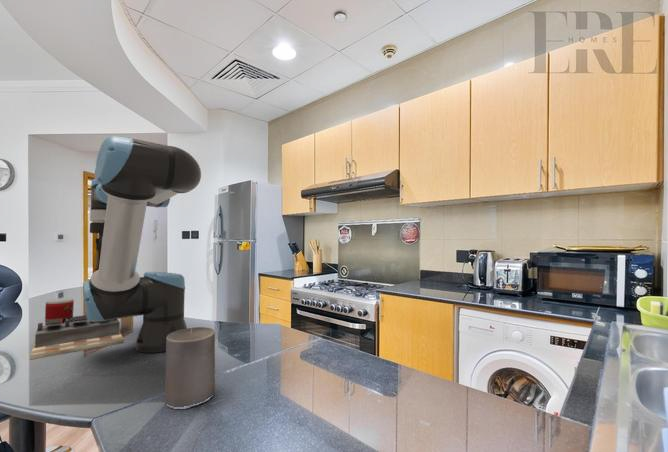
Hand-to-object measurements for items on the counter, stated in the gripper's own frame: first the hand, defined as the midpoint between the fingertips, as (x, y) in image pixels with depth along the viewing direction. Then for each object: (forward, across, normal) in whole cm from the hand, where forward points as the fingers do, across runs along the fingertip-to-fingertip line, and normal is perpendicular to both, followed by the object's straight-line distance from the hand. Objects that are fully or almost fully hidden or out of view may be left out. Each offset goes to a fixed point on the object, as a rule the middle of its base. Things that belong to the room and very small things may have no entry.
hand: (101, 288), depth 111 cm
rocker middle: (+9, -3, +6) cm, 11 cm away
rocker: (+9, -3, +12) cm, 16 cm away
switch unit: (+16, -7, +6) cm, 19 cm away
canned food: (+17, +17, +11) cm, 27 cm away
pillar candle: (+17, -67, -13) cm, 70 cm away
